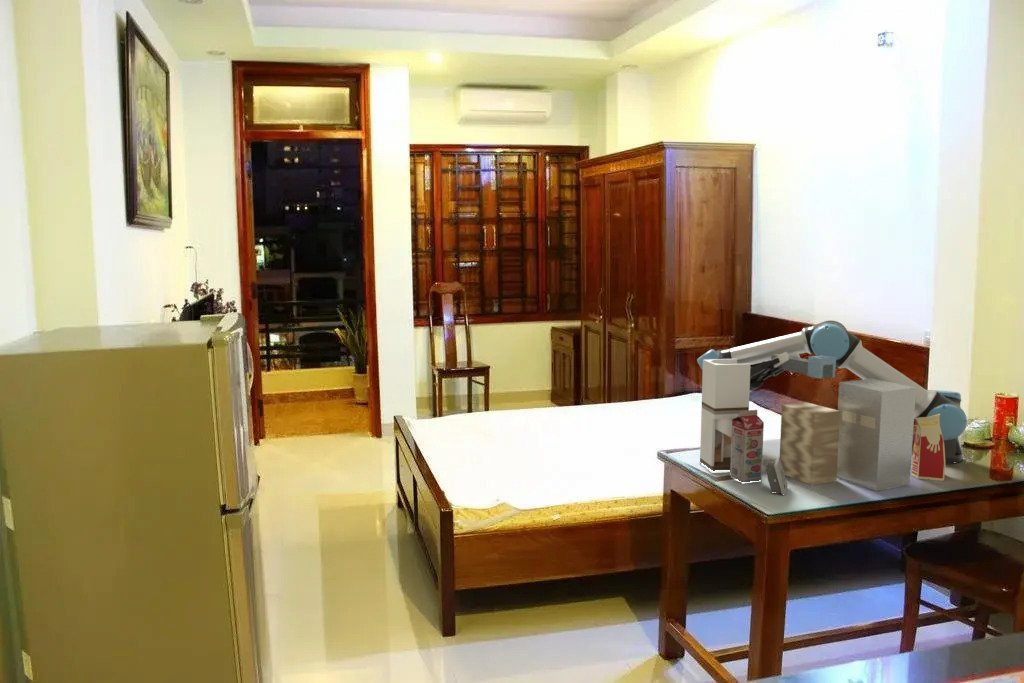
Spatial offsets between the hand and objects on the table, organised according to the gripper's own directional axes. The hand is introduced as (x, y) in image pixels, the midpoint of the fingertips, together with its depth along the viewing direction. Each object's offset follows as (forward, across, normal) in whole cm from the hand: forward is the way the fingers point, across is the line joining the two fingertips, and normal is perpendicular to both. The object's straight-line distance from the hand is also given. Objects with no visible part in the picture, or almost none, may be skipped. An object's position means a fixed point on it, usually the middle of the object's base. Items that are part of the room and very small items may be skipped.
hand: (792, 355), depth 254 cm
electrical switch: (-6, +18, -40) cm, 44 cm away
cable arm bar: (+1, 0, -6) cm, 6 cm away
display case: (-28, +18, -27) cm, 43 cm away
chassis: (-1, -15, -42) cm, 45 cm away
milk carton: (+2, -34, -44) cm, 56 cm away
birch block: (-11, 0, -36) cm, 38 cm away
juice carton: (-16, +20, -34) cm, 42 cm away
